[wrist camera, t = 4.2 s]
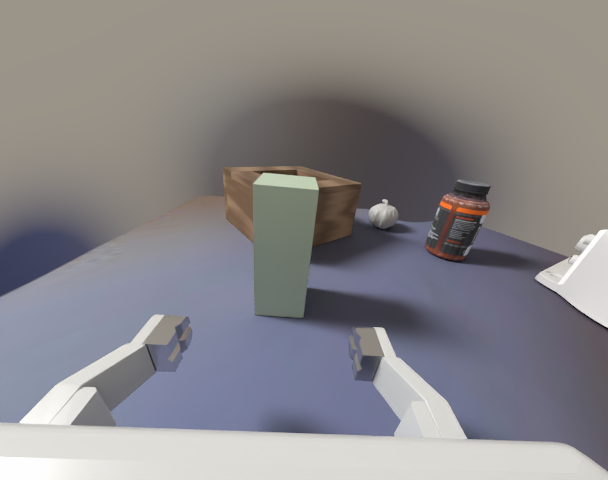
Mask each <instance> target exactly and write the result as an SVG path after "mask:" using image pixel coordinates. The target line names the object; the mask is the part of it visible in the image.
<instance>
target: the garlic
mask: <svg viewBox="0 0 608 480" xmlns="http://www.w3.org/2000/svg"><path fill="white" fill-rule="evenodd" d="M383 202H385V204H378V205H376V206H373V207H372V208H371V209H370V211H369V218H370V219H369V220H370V222H371V223H372V224H373V225H374V226H375V227H378V228H380V229H386V228H389V227H391V226H393V225H394V224H395V223H396V222H397V219H398V212H397V210H396V208H395V207H392V206H390V205H388V201H387V200H383Z"/></svg>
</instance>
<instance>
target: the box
mask: <svg viewBox="0 0 608 480" xmlns="http://www.w3.org/2000/svg"><path fill="white" fill-rule="evenodd" d="M263 173H272V174H283V175H294V176H305V177H315V178H316V181H317V185H318V188H319V194H318V202H317V210H316V218H315V226H314V235H313V243H312V247H314V246H317V245H320V244H324V243H327V242H330V241H333V240H337V239H340V238H343V237H346V236H349V235H351V232H352V227H353V222H354V217H355V212H356V207H357V203H358V198H359V193H360V188H361V183H358V182H354V181H351V180H347V179H344V178H340V177H337V176H333V175H330V174H326V173H322V172H319V171H315V170H312V169H308V168H305V167H301V166H283V167H228V168H223V180H224V192H225V206H226V219H227V220H228V221H229V222H231V223H232V224H233V225H234V226H235V227H236V228H237V229H238V230H239V231H241V232H242V233H243V234H244V235H245V236H246V237H247V238H248V239H249V240H250V241H252V242H253V243H254V240H253V183H254V182H255V181H256V180H257V179H258V178H259V177H260V176H261V175H262V174H263Z"/></svg>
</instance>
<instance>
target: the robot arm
mask: <svg viewBox="0 0 608 480" xmlns="http://www.w3.org/2000/svg"><path fill="white" fill-rule="evenodd" d="M575 249H576V250H578V251H581V252H582V254H581V255H580V256H578V255H574V256H571V257H570V258H568V259H566V260H564V261H562V262H560V263H558V264H556V265H554V266H552V267H550V268H548V269H546V270H544V271H541V272H540V273H539V274H538V275H537V276H536V277H535V279H536V280H537V281H538V282H540V283H542V284H543V285H545V286H546V287H548V288H550V289H552V290H553V291H555V292H557V293H558V294H560V295H561V296H562V297H563V298H565V299H566V300H567V301H568V302H569V303H570V304H572V305H573V306H574V307H576V308H577V309H578V310H580V311H581V312H583V313H584V314H586V315H587V316H589V317H590V318H592V319H593V320H595V321H597V322H598V323H600V324H602V325H603V326H605V327H607V328H608V230H600V231H599V232H598V234H597V235H592V234H590V235H587V236H583V237H582V239H581V240H580V241H579V242H578V243H577V245H576V246H575ZM189 323H190V320H189V317H183V316H171V315H157V314H156V315H154V316H152V317H151V318H150V320H149V321H148V322H147V323H146V325H145V326H144V327H143V328H142V329H141V331H140V332H139V333H138V334H137V336H136V337H135V338H134V339H133V340H132V342H131V343H130V344H125V345H123V346H121V347H120V348H118V349H116V350H115V351H113V352H111V353H109V354H108V355H106V356H104V357H103V358H101V359H99V360H97V361H96V362H94V363H92V364H91V365H89V366H87V367H85V368H84V369H82V370H80V371H79V372H77V373H75V374H73V375H72V376H70V377H68V378H67V379H65V380H63V381H61V382H60V383H58V384H56V385H55V386H54V387H53V389H52V390H51V391H50V392H49V393H48V394H47V395H46V396H45V397H44V398H43V399H42V400H41V401H40V402H39V403H38V404H37V405H36V406H35V407H34V408H33V409H32V410H31V411H30V412H29V413H28V414H27V415H26V416H25V417H24V418H23V419H22V420H21V421H20V422H19V423H0V480H608V471H606V470H605V469H604V468H602V467H601V466H599V465H598V464H597V463H595V462H594V461H593V460H591V459H590V458H588V457H587V456H585V455H584V454H582V453H581V452H579V451H578V450H577V449H575V448H574V447H571V446H569V445H567V444H564V443H557V442H536V441H507V440H479V439H467V438H466V436H465V434H464V432H463V430H462V428H461V426H460V425H459V423H458V421H457V419H456V417H455V415H454V413H453V411H452V410H451V408H450V406H449V404H448V402H447V401H446V400H445V399H444V398H443V397H442V396H441V395H439V394H438V393H437V392H436V391H435V390H434V389H433V388H432V387H431V386H430V385H429V384H428V383H426V382H425V381H424V380H423V379H422V378H421V377H420V376H419V375H418V374H417V373H416V372H415V371H413V370H412V369H411V368H410V367H409V366H408V365H407V364H406V363H405V362H404V361H403V360H402V359H400V358H397V357H396V355H395V352H394V350H393V348H392V345H391V343H390V341H389V338H388V336H387V334H386V331H385V329H384V328H379V327H360V326H353V328H352V331H351V332H352V336H351V337H350V339H349V355H350V358H351V359H352V360H353V364H352V369H353V374H354V379H355V380H359V381H372V383H373V384H374V385H375V387H376V388H377V389H378V391H379V392H380V393H381V395H382V396H383V397H384V399H385V400H386V401H387V403H388V404H389V405H390V407H391V408H392V410H393V411H394V412H395V414H396V415H397V416H398V418H399V419H400V420H401V422H400V424H399V426H398V428H397V429H396V431H395V433H394V435H395V437H393V436H365V435H337V434H309V433H282V432H254V431H226V430H197V429H169V428H140V427H115V425H116V420H115V418H114V417H113V415H112V413H111V411H112V410H113V409H114V408H115V407H116V406H118V405H119V404H120V403H121V402H122V401H123V400H125V399H126V398H127V397H128V396H129V395H130V394H131V393H133V392H134V391H135V390H136V389H137V388H138V387H140V386H141V385H142V384H143V383H144V382H145V381H147V380H148V379H149V378H150V377H151V376H152V375H153V374H155V373H156V372H155V371H162V372H175V371H176V369H177V367H178V365H179V364H180V362H181V360H182V353H183V352H184V351H185V350H187V349H188V347H189V345H190V342H191V339H192V329H191V328H190V327H189V326H188V325H189Z"/></svg>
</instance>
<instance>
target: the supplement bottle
mask: <svg viewBox="0 0 608 480" xmlns="http://www.w3.org/2000/svg"><path fill="white" fill-rule="evenodd" d="M490 187H491V186H490V185H489V184H485V183H481V182H475V181H468V180H457V182H456V184H455V187H454V190H453V191H452V192H450V193H449V194H446V195H445V196H444V197H443V198H442V200H441V203H440V205H439V208H438V210H437V213H436V215H435V218H434V221H433V224H432V226H431V229H430V231H429V234H428V237H427V239H426V243H425V248H426V249H427V250H428V251H429V252H430V253H432V254H434V255H436V256H438V257H440V258H443V259H448V260H455V261H456V260H457V261H458V260H463V259H465V258H466V256H467V254H468V252H469V250H470V248H471V246H472V244H473V242H474V240H475V238H476V236H477V234H478V232H479V230H480V228H481V226H482V223H483V221H484V219H485V217H486V216H487V213H488V211H489V209H490V204H489V202H488V201H487V200H486V195H487V194H488V191H489V189H490Z"/></svg>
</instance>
